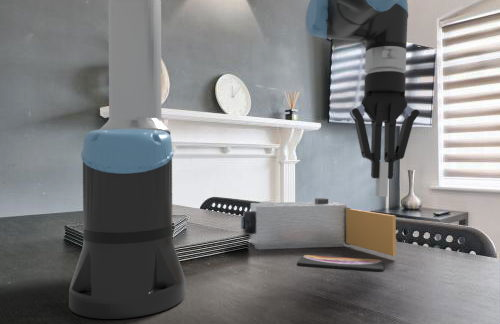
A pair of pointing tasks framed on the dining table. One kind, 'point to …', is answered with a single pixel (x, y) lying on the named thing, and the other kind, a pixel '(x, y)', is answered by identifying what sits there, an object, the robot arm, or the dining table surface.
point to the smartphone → (341, 263)
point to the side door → (371, 231)
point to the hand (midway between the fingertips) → (381, 195)
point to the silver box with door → (296, 224)
